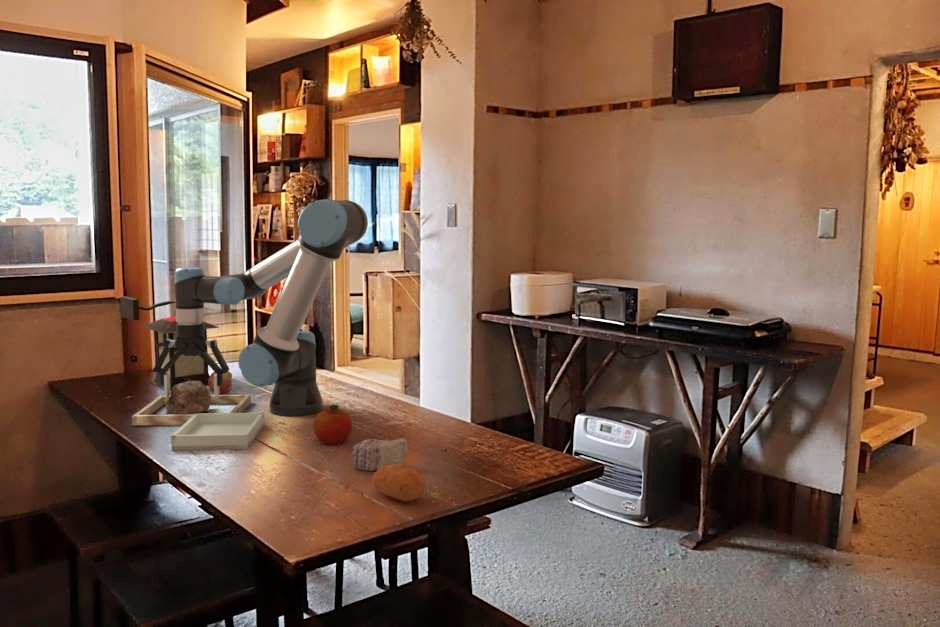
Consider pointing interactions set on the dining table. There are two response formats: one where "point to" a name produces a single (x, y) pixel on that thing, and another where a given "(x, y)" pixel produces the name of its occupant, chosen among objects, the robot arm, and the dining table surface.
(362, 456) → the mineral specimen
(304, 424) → the dining table surface
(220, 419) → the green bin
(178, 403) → the rock
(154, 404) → the pine frame
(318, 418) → the fruit
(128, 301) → the lantern
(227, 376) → the fruit
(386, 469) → the potato
